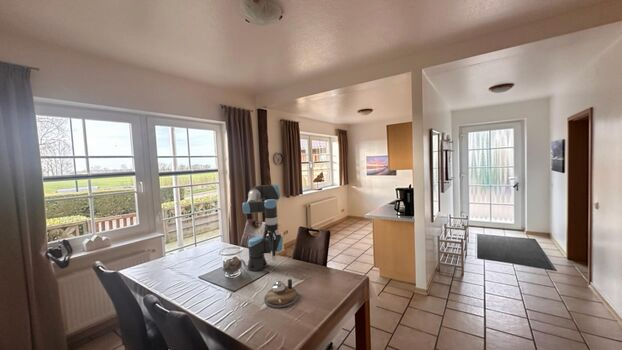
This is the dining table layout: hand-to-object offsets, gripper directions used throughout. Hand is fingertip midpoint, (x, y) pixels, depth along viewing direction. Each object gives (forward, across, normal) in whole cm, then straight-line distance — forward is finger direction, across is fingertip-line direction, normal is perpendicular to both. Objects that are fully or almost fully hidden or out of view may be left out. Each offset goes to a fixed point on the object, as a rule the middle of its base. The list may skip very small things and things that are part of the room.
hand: (273, 259), depth 160 cm
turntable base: (+18, +14, 0) cm, 23 cm away
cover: (+16, +10, 0) cm, 18 cm away
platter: (+17, +14, 0) cm, 22 cm away
